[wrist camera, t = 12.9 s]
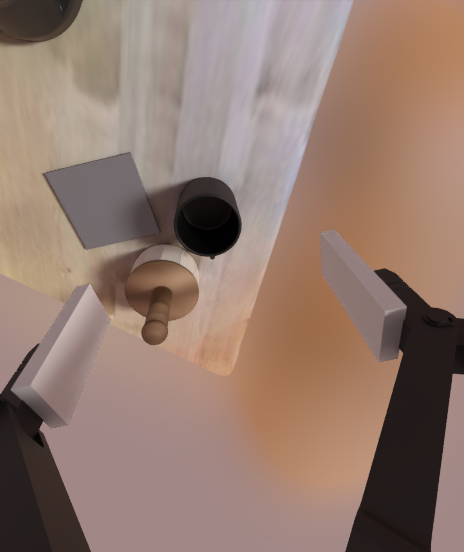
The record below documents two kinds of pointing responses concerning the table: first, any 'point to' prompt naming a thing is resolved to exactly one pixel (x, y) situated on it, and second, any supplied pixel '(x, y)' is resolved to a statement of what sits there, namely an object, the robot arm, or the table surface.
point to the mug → (207, 217)
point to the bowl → (168, 257)
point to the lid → (161, 296)
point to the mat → (105, 200)
